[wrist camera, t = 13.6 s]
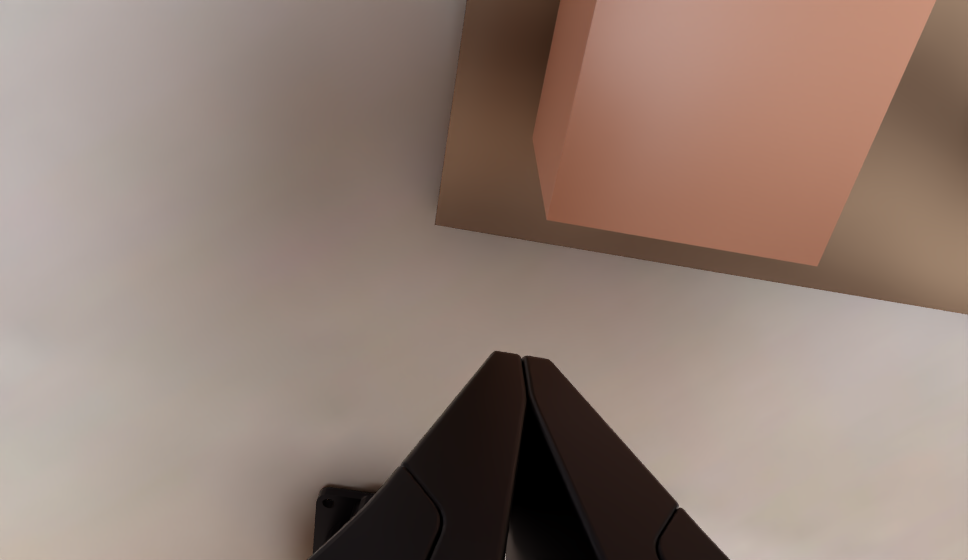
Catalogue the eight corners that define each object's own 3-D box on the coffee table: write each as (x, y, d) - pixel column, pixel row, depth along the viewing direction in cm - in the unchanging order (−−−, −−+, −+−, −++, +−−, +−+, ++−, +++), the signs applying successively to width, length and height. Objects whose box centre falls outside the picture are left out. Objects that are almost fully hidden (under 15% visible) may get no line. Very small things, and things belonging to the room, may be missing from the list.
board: (1059, 317, 22) (1088, 334, 21) (438, 211, 21) (434, 224, 20) (1314, -70, 17) (1371, -74, 16) (503, -236, 16) (502, -252, 14)
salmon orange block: (712, 169, 18) (817, 266, 12) (532, 138, 17) (546, 220, 11) (780, -33, 15) (953, -40, 9) (575, -73, 15) (620, -106, 9)
